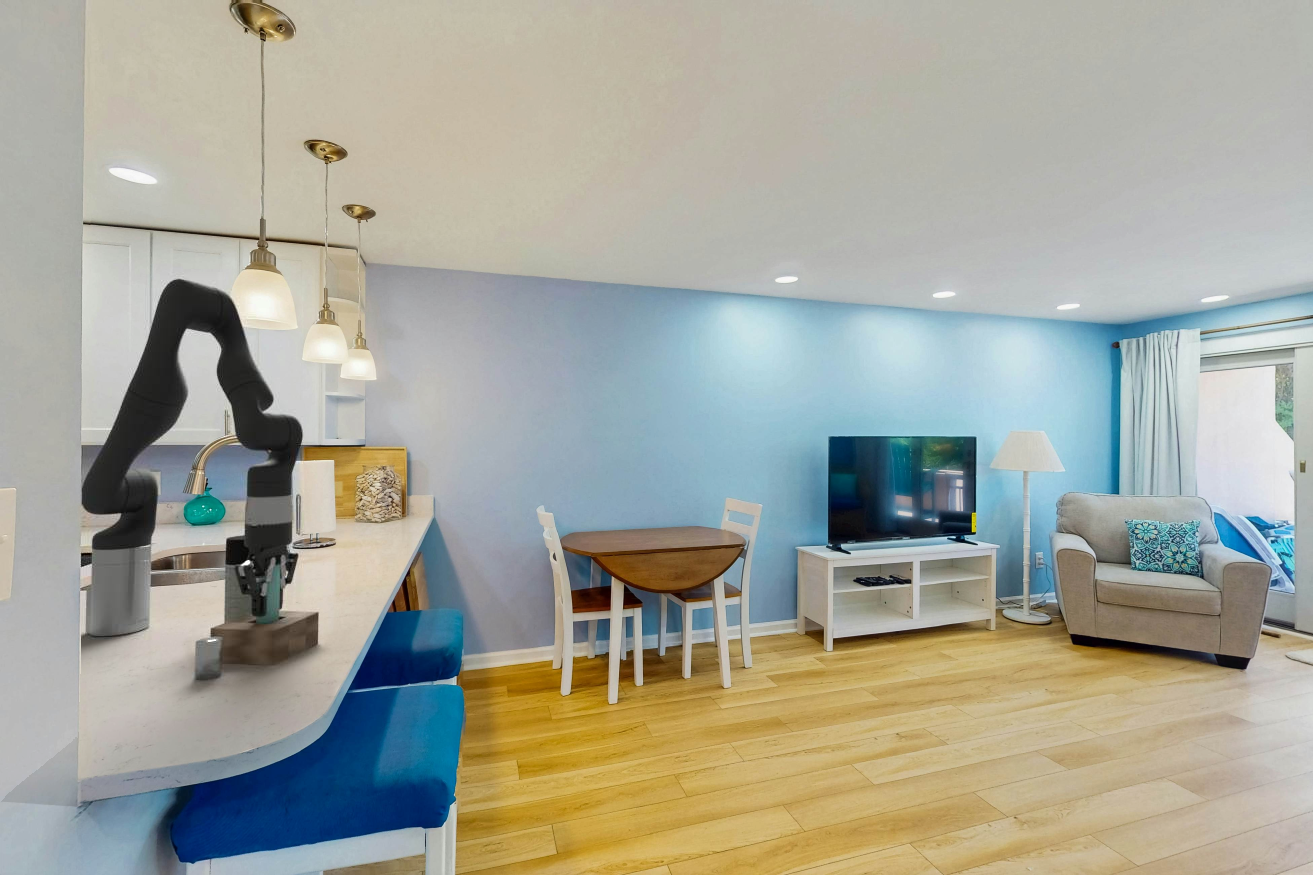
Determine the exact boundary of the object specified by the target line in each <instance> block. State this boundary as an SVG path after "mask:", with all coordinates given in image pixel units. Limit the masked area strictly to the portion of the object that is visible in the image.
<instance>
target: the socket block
mask: <svg viewBox="0 0 1313 875" xmlns="http://www.w3.org/2000/svg"><path fill="white" fill-rule="evenodd" d="M319 613H320V612H319V611H300V610H299V611H298V610H297V611H295V610H279V620H278V621H276V622H273V623H271V624H261V623H256V617H254V616H253V615H252V613H251V614H249V615H246V616H243V617H240V618H238V619H235V620H232V621H229V622H227V623H221V624H218V625H216V626H213V627H210V636H209V637H222V664H235V665H236V664H237V665H238V664H239V665H243V664H244V665H260V666H261V665H265V666H276V665H277V664H279V663H281V662H283V661H285V660H288V659H289V658H292V657H293V656H296V655H297V654H299V653H301V652H303V651H305V650H307V649H309V648H311V647H313V646H315V645H317V644H318V643H319V618H320V616H319Z"/></svg>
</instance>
